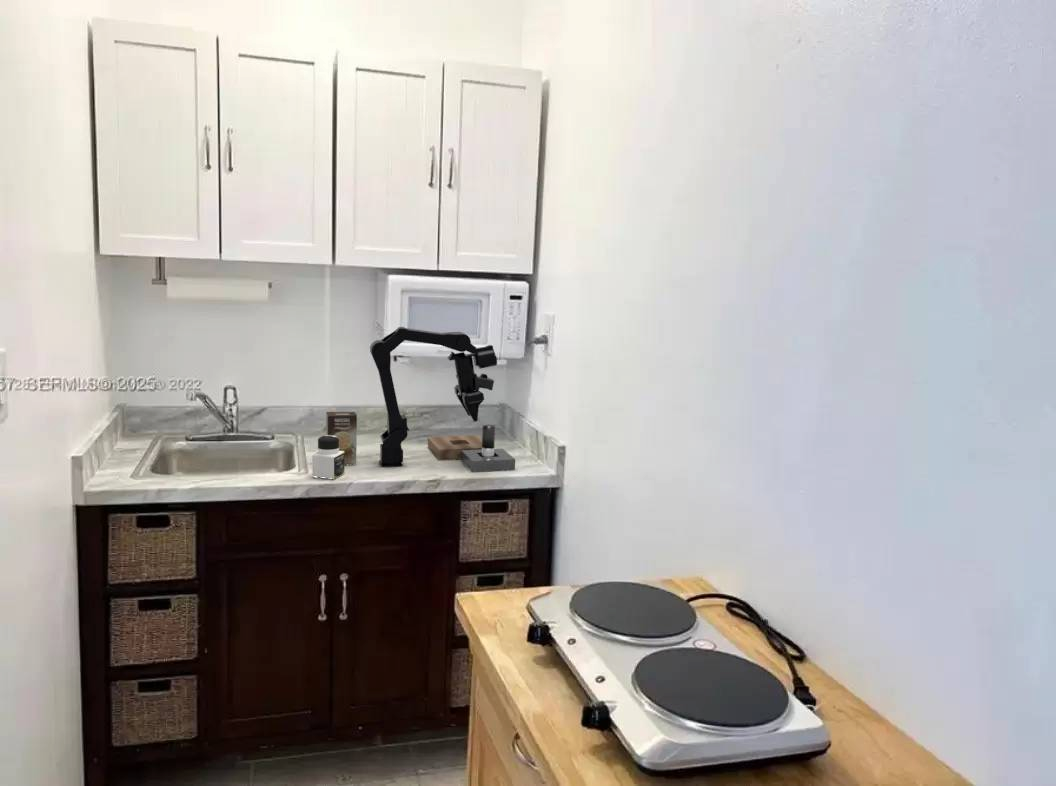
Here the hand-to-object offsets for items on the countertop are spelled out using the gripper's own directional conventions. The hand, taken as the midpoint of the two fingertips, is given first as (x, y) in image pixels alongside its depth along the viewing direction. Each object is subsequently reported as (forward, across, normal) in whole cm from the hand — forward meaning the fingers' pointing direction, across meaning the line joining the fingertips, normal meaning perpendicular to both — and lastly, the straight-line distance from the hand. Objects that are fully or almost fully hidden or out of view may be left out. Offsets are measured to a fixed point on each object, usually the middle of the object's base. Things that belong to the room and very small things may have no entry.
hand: (472, 418), depth 257 cm
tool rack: (+14, +12, +4) cm, 19 cm away
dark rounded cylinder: (+15, -5, -1) cm, 16 cm away
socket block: (+15, -5, -1) cm, 16 cm away
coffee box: (+7, +3, +43) cm, 44 cm away
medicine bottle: (+6, -11, +48) cm, 49 cm away
